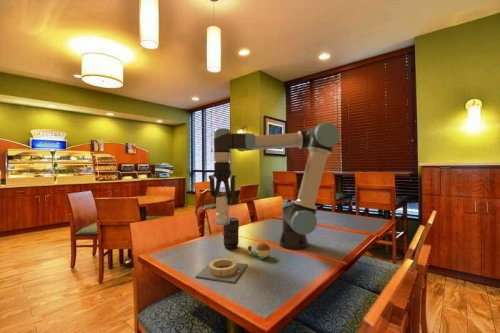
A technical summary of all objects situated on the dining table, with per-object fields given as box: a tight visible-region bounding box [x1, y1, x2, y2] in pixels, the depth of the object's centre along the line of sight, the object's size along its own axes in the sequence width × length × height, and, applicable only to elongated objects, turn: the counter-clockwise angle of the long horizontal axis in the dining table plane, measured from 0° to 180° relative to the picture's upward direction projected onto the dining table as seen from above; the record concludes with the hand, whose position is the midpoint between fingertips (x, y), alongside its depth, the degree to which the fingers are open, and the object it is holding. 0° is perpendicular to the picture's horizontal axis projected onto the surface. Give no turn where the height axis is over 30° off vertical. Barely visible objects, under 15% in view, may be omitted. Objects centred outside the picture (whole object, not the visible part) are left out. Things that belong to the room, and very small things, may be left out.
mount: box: [195, 258, 248, 284], centre depth 96 cm, size 16×16×3 cm
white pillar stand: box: [215, 191, 231, 226], centre depth 110 cm, size 6×9×14 cm
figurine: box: [247, 242, 271, 261], centre depth 111 cm, size 7×10×7 cm
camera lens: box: [222, 217, 240, 251], centre depth 123 cm, size 8×8×15 cm
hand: (222, 211), depth 110 cm, fingers closed on white pillar stand, 4 cm apart
